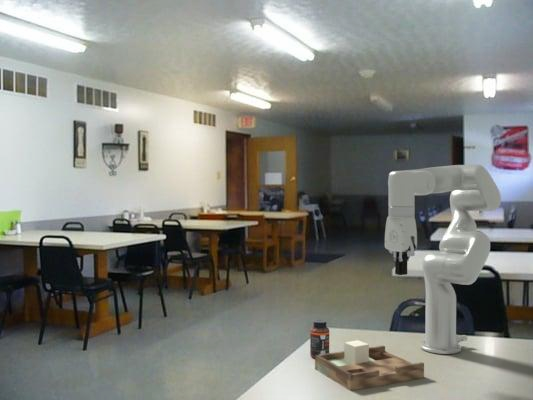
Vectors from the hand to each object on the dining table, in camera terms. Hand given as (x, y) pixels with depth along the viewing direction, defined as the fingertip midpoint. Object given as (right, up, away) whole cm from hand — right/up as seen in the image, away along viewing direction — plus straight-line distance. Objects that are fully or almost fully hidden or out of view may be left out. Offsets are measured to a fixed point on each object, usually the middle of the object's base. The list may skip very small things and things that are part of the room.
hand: (401, 274), depth 166 cm
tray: (-11, -27, -6) cm, 30 cm away
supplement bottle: (-23, -27, +9) cm, 37 cm away
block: (-14, -25, -3) cm, 28 cm away
